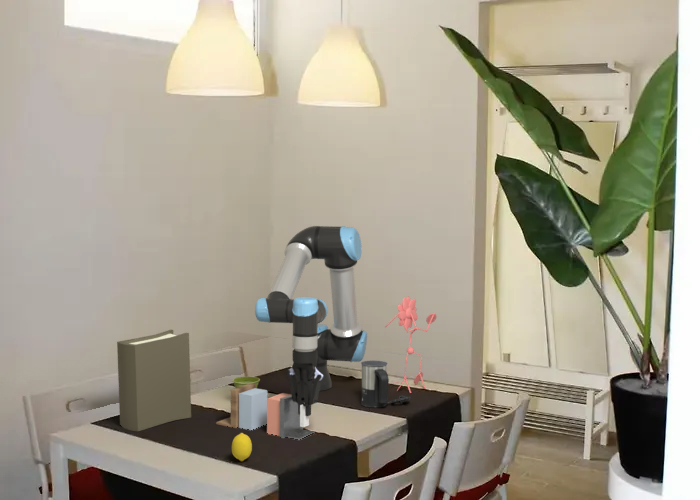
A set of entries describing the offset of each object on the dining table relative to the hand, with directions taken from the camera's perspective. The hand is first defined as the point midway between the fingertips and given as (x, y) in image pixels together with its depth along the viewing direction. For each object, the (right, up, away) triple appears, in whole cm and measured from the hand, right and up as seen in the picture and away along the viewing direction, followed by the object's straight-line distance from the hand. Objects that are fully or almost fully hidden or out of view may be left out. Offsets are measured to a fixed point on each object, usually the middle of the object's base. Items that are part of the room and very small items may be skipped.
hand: (304, 425), depth 250 cm
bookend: (-2, -3, +1) cm, 4 cm away
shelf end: (-23, -2, +14) cm, 27 cm away
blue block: (-17, -2, +10) cm, 20 cm away
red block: (-7, -3, +5) cm, 9 cm away
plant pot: (-22, 0, +36) cm, 42 cm away
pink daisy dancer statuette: (+34, +1, +61) cm, 70 cm away
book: (-49, -2, +14) cm, 51 cm away
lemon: (-16, -5, -23) cm, 28 cm away
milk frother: (+26, -1, +38) cm, 46 cm away
